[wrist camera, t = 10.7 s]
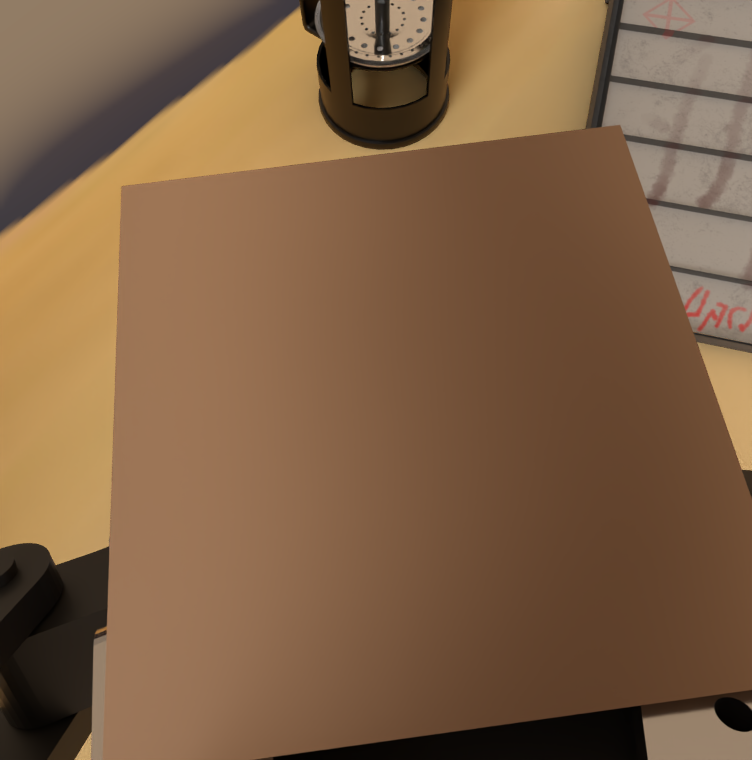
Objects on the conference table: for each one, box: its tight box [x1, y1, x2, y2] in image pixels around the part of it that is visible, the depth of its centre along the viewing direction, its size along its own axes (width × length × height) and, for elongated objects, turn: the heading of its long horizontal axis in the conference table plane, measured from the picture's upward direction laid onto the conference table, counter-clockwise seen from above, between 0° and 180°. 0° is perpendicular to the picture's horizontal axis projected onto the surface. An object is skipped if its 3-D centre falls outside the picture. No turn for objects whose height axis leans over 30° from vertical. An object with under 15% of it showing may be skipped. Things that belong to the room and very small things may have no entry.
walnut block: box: [103, 125, 752, 760], centre depth 10 cm, size 5×5×12 cm
